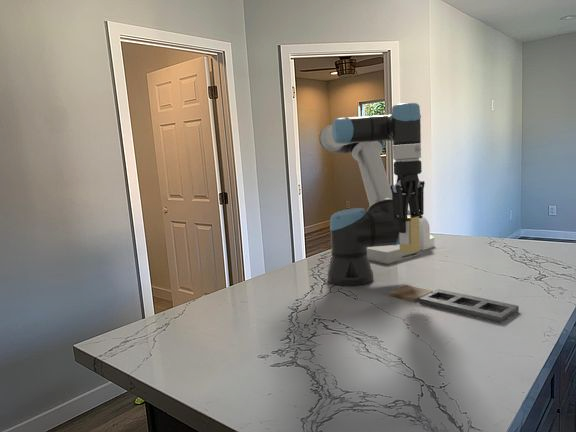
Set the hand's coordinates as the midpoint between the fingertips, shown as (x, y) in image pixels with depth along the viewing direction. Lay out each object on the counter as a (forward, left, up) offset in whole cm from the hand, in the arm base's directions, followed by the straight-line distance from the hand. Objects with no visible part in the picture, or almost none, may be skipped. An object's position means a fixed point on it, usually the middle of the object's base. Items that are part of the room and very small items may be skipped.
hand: (409, 242), depth 126 cm
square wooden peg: (0, 0, -3) cm, 3 cm away
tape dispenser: (-36, +57, -16) cm, 69 cm away
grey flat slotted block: (+17, 0, -16) cm, 23 cm away
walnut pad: (0, 0, -16) cm, 16 cm away
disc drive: (-37, +34, -16) cm, 53 cm away
